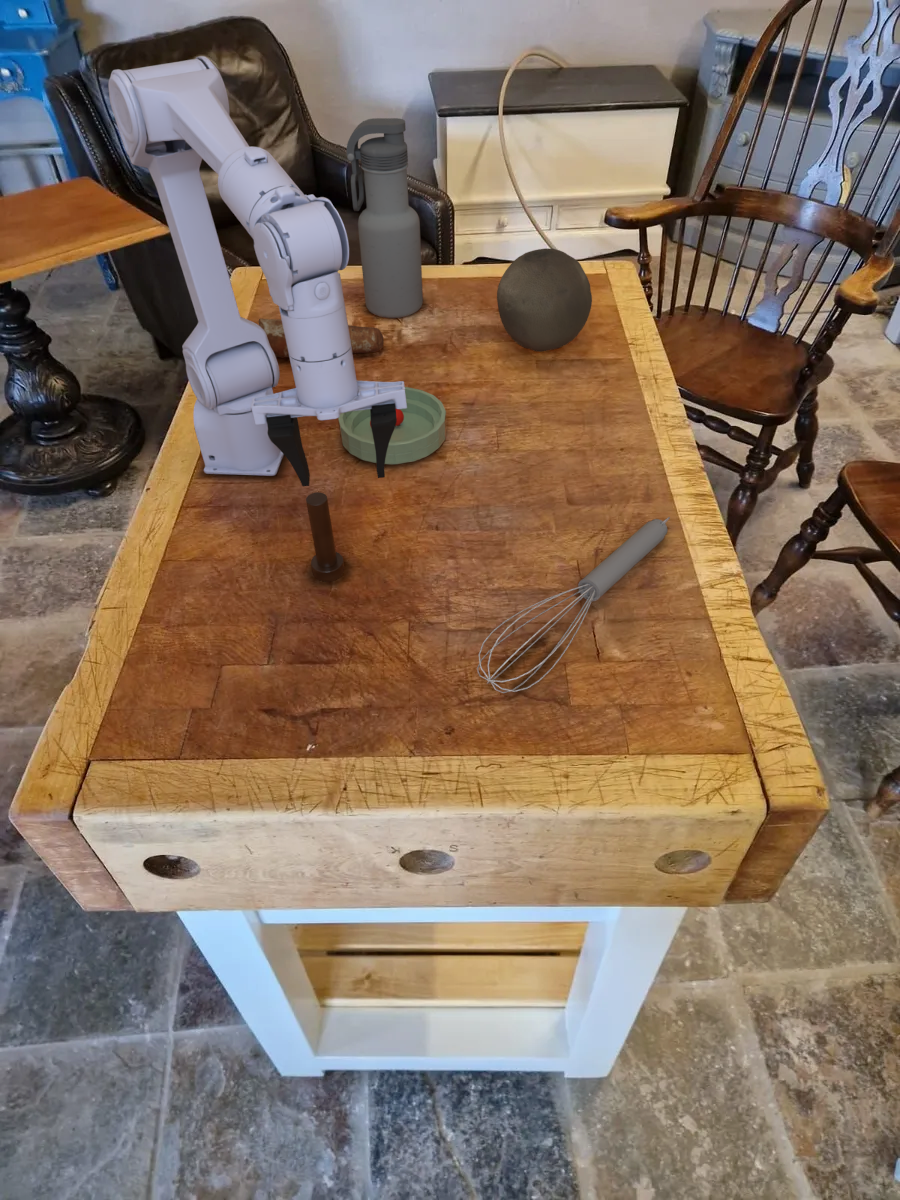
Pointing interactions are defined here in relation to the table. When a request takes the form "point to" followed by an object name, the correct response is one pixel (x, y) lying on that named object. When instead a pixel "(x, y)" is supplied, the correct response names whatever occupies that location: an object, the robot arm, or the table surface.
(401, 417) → the tomato
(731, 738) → the table surface
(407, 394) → the bowl
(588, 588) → the kitchen whisk
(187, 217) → the robot arm
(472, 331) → the table surface
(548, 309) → the dark grey ball
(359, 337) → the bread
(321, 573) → the stirrer
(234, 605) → the table surface
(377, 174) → the water bottle
